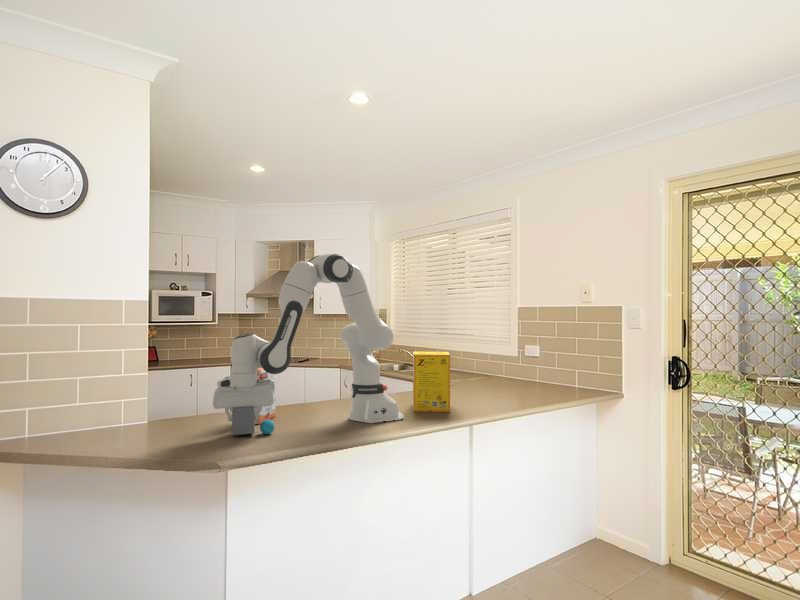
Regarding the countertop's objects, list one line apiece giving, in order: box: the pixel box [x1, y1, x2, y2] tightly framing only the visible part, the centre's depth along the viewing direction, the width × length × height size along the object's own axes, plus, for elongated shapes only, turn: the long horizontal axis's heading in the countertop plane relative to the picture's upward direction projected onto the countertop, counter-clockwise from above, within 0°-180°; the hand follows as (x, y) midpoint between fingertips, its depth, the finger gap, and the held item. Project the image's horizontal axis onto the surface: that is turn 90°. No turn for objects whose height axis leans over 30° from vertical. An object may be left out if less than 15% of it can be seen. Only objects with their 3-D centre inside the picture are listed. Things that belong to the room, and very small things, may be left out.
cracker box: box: [255, 368, 278, 425], centre depth 187 cm, size 14×6×21 cm, turn 168°
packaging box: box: [412, 351, 451, 413], centre depth 214 cm, size 16×16×25 cm
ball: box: [259, 419, 275, 435], centre depth 166 cm, size 5×5×5 cm
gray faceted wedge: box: [231, 407, 256, 436], centre depth 164 cm, size 7×7×9 cm
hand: (243, 419), depth 164 cm, fingers closed on gray faceted wedge, 7 cm apart
